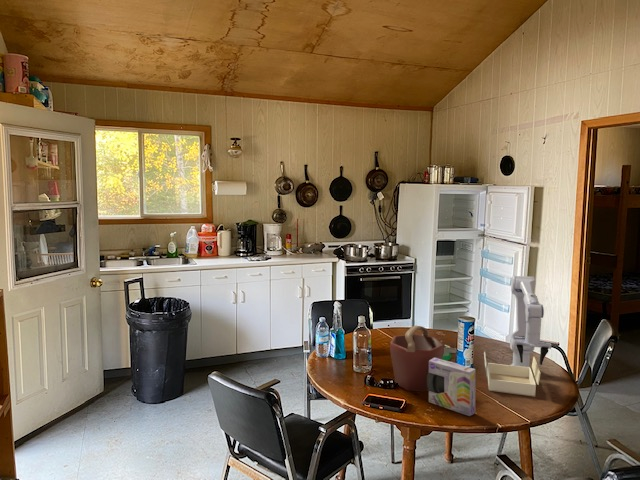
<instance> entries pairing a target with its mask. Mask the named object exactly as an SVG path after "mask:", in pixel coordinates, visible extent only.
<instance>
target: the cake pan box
mask: <svg viewBox="0 0 640 480" xmlns="http://www.w3.org/2000/svg"><path fill="white" fill-rule="evenodd" d="M476 372H477V371H476V368H472V367H469V366H465V365H461V364H459V363H457V362H455V363H453V362H449V361H445V360H442V359H438V358H433V359H431V360H429V373H428V375H427V387H428V403H431V404H434V405H436V406H439V407H442V408H445V409H448V410H451V411H454V412H456V413H459V414H462V415H465V416H467V417H471V416H473V415H475V414H476Z"/></svg>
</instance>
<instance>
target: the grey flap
mask: <svg viewBox="0 0 640 480" xmlns="http://www.w3.org/2000/svg"><path fill="white" fill-rule="evenodd" d="M483 356H484V357H483V358H484V370H485V375H486V379H487V380H488V373H487V369H488V362H487V357H486V356H487V355H486V351H483Z"/></svg>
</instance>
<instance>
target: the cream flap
mask: <svg viewBox="0 0 640 480" xmlns="http://www.w3.org/2000/svg"><path fill="white" fill-rule="evenodd" d="M531 371H532V374H533V377H534V380H535V383H536V386H537V385H538V386H539V385H540V378H541V374H542V373H541V371H540V368H539V365H538V363H537V360H536V357H535V356H532V364H531Z"/></svg>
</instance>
